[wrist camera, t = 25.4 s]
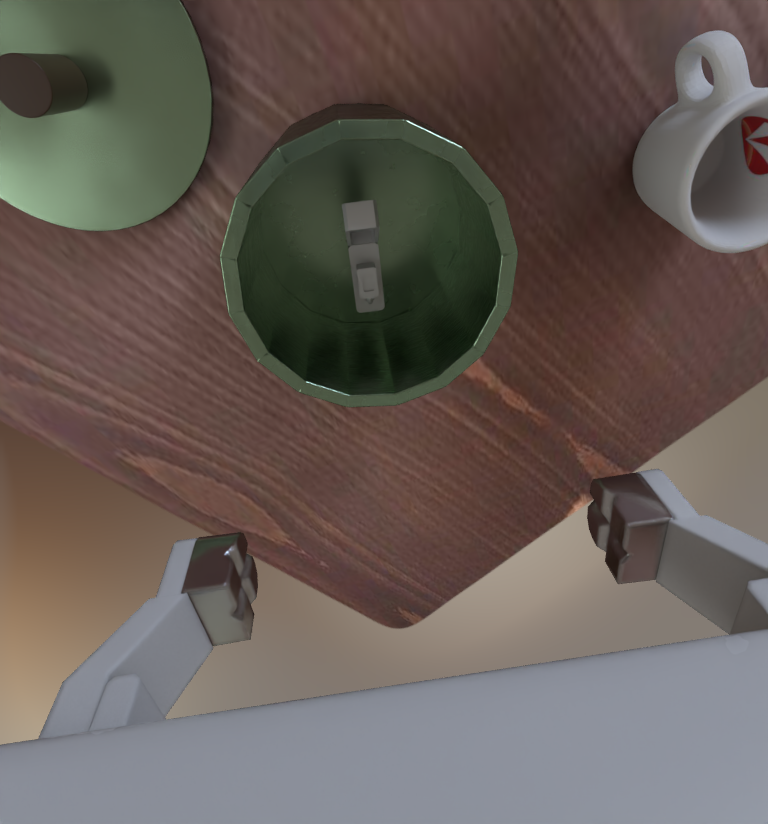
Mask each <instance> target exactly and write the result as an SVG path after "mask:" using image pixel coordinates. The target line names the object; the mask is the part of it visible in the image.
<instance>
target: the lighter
mask: <svg viewBox="0 0 768 824" xmlns="http://www.w3.org/2000/svg"><path fill="white" fill-rule="evenodd" d="M342 210H343V218H344V225H345V233H346V238H347V244H348V250H349V258H350V265H351V272H352V280H353V287H354V294H355V302H356V309H357V311H358V312H359V313H363V312H371V311H378V310H383V309H384V307H385V304H384V294H383V285H382V275H381V266H380V257H379V247H378V238H379V229H380V226H379V218H378V210H377V202H376V200H368V201H360V202H352V203H345V204H342Z"/></svg>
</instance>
